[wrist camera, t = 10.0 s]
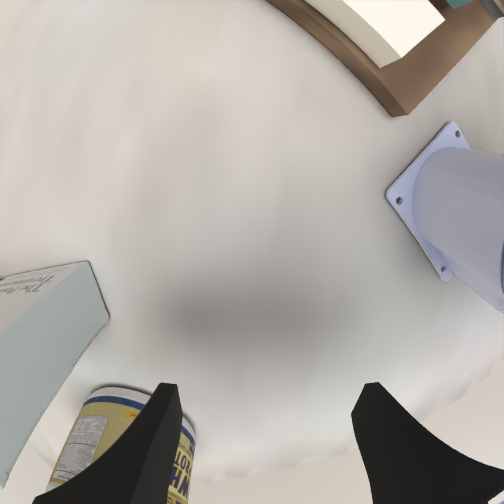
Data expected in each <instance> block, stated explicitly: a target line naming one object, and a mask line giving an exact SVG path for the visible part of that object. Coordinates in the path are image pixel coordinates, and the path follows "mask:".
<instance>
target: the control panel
mask: <svg viewBox="0 0 504 504" xmlns="http://www.w3.org/2000/svg"><path fill="white" fill-rule="evenodd" d="M266 1H268V2H269V3H271V4H272V5H274V6H275V7H277V8H278V9H279V10H281V11H282V12H283V13H285V14H286V15H288V16H289V17H290V18H291V19H293V20H294V21H295V22H297V23H298V24H299V25H300V26H302V27H303V28H304V29H305V30H307V31H308V32H309V33H310V34H311V35H313V36H314V37H315V38H316V39H317V40H319V41H320V42H321V43H322V44H323V45H324V46H325V47H326V48H328V49H329V50H330V51H331V52H332V53H333V54H334V55H335V56H336V57H337V58H338V59H339V60H340V61H341V62H343V63H344V64H345V65H346V66H347V67H348V68H349V69H350V70H351V71H352V72H353V73H354V74H355V76H356V77H357V78H358V79H359V80H360V81H361V82H362V83H363V84H364V85H365V86H366V87H367V88H368V89H369V90H370V92H371V93H372V94H373V95H374V96H375V97H376V98H377V99H378V101H379V102H380V103H381V104H382V105H383V107H384V108H385V109H386V110H387V111H388V113H389V114H390V115H391V116H392V117H395V116H403V115H409V114H410V113H411V111H412V110H413V109H414V108H415V107H416V106H417V105H418V104H419V103H420V102H421V101H422V100H423V99H424V98H425V97H426V96H427V95H428V94H429V93H430V92H431V90H432V89H433V88H434V87H435V86H436V85H437V84H438V83H439V82H440V81H441V80H442V79H443V78H444V77H445V76H446V75H447V73H448V72H449V71H450V70H451V69H452V68H453V67H454V66H455V65H456V64H457V63H458V62H459V61H460V60H461V58H462V57H463V56H464V55H465V54H466V53H467V52H468V51H469V50H470V49H471V48H472V46H473V45H474V44H475V43H476V42H477V41H478V40H479V39H480V38H481V37H482V36H483V34H484V33H485V32H486V31H487V30H488V29H489V28H490V27H491V26H492V24H493V23H494V22H495V21H496V20H497V19H498V18H500V17H504V0H473V1H471V2H469V3H466V4H464V5H462V6H460V7H458V8H455V9H453V8H452V7H451V6H450V5H449V3H448V2H447V1H446V0H428V1H429V2H430V3H431V4H432V5H433V6H434V7H435V8H436V10H437V11H438V12H439V13H440V14H441V15H442V16H443V18H444V19H445V21H443V22H442V23H441V24H440V25H439V26H438V27H436V28H435V29H434V30H433V31H432V32H431V33H429V34H428V35H427V36H426V37H425V38H424V39H422V40H421V41H420V42H419V43H418V44H417V45H416V46H414V47H413V48H412V49H411V50H410V51H409V52H408V53H407V54H405V55H404V56H403V57H402V58H400V59H398V60H396V61H394V62H392V63H390V64H388V65H386V66H383V67H381V68H379V67H378V66H377V65H376V64H375V63H374V62H373V61H372V60H371V59H370V58H369V57H368V56H367V54H366V53H365V52H364V51H363V50H362V49H361V48H360V47H358V46H357V45H356V44H355V43H354V42H353V41H352V40H351V39H350V38H349V37H348V36H347V35H346V34H345V33H344V32H342V31H341V30H340V29H339V28H338V27H337V26H336V25H335V24H333V23H332V22H331V21H330V20H329V19H327V18H326V17H325V16H324V15H323V14H321V13H320V12H319V11H318V10H316V9H315V8H314V7H313V6H311V5H310V4H309V3H307V2H306V1H305V0H266Z"/></svg>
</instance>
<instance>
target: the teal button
mask: <svg viewBox="0 0 504 504" xmlns="http://www.w3.org/2000/svg"><path fill="white" fill-rule="evenodd" d="M446 1H447V2H448V3H449V5H450V6H451V7H452V8H453V9H455V8H458V7H460V6H462V5H464V4H466V3H469V2H471V1H473V0H446Z"/></svg>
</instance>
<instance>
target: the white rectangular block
mask: <svg viewBox="0 0 504 504" xmlns="http://www.w3.org/2000/svg"><path fill="white" fill-rule="evenodd" d="M305 1H306V2H307V3H309V4H310V5H311V6H313V7H314V8H315V9H316V10H318V11H319V12H320V13H321V14H323V15H324V16H325V17H326V18H327V19H329V20H330V21H331V22H332V23H333V24H335V25H336V26H337V27H338V28H339V29H340V30H341V31H342V32H344V33H345V34H346V35H347V36H348V37H349V38H350V39H351V40H352V41H353V42H354V43H355V44H356V45H357V46H358V47H360V48H361V49H362V50H363V51H364V52H365V53H366V54H367V56H368V57H369V58H370V59H371V60H372V61H373V62H374V63H375V64H376V65H377V66H378V67H379V68H381V67H383V66H386V65H388V64H390V63H392V62H394V61H396V60H398V59H400V58H402V57H403V56H404V55H405V54H407V53H408V52H409V51H410V50H411V49H412V48H413V47H414V46H416V45H417V44H418V43H419V42H420V41H421V40H422V39H424V38H425V37H426V36H427V35H428V34H429V33H431V32H432V31H433V30H434V29H435V28H436V27H438V26H439V25H440V24H441V23H442V22H443V21H445V19H444V18H443V16H442V15H441V14H440V13H439V12H438V11H437V10H436V8H435V7H434V6H433V5H432V4H431V3H430V2H429V1H428V0H305Z"/></svg>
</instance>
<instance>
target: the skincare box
mask: <svg viewBox="0 0 504 504" xmlns="http://www.w3.org/2000/svg"><path fill="white" fill-rule="evenodd" d="M108 321H109V315H108V313H107V310H106V308H105V305H104V302H103V300H102V297H101V294H100V291H99V289H98V286H97V283H96V280H95V278H94V275H93V273H92V270H91V267H90V265H89V263H88V261H84V262H79V263H73V264H68V265H62V266H57V267H51V268H46V269H41V270H36V271H31V272H26V273H21V274H16V275H11V276H6V277H1V278H0V488H2V489H3V488H4V487H5V484H6V482H7V480H8V477H9V474H10V472H11V470H12V468H13V466H14V464H15V462H16V460H17V458H18V456H19V455H20V453H21V451H22V449H23V447H24V446H25V444H26V442H27V440H28V438H29V437H30V435H31V433H32V432H33V430H34V428H35V426H36V425H37V423H38V421H39V420H40V418H41V417H42V415H43V413H44V412H45V410H46V409H47V407H48V406H49V405H50V403H51V401H52V400H53V398H54V397H55V395H56V394H57V392H58V391H59V389H60V388H61V386H62V385H63V383H64V382H65V380H66V379H67V377H68V376H69V374H70V373H71V371H72V369H73V368H74V366H75V364H76V363H77V362H78V360H79V359H80V357H81V356H82V355H83V353H84V352H85V350H86V349H87V348H88V346H89V345H90V344H91V342H92V341H93V340H94V338H95V337H96V336H97V334H98V333H99V332H100V330H101V329H102V328H103V327H104V326H105V324H106V323H107V322H108Z"/></svg>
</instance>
